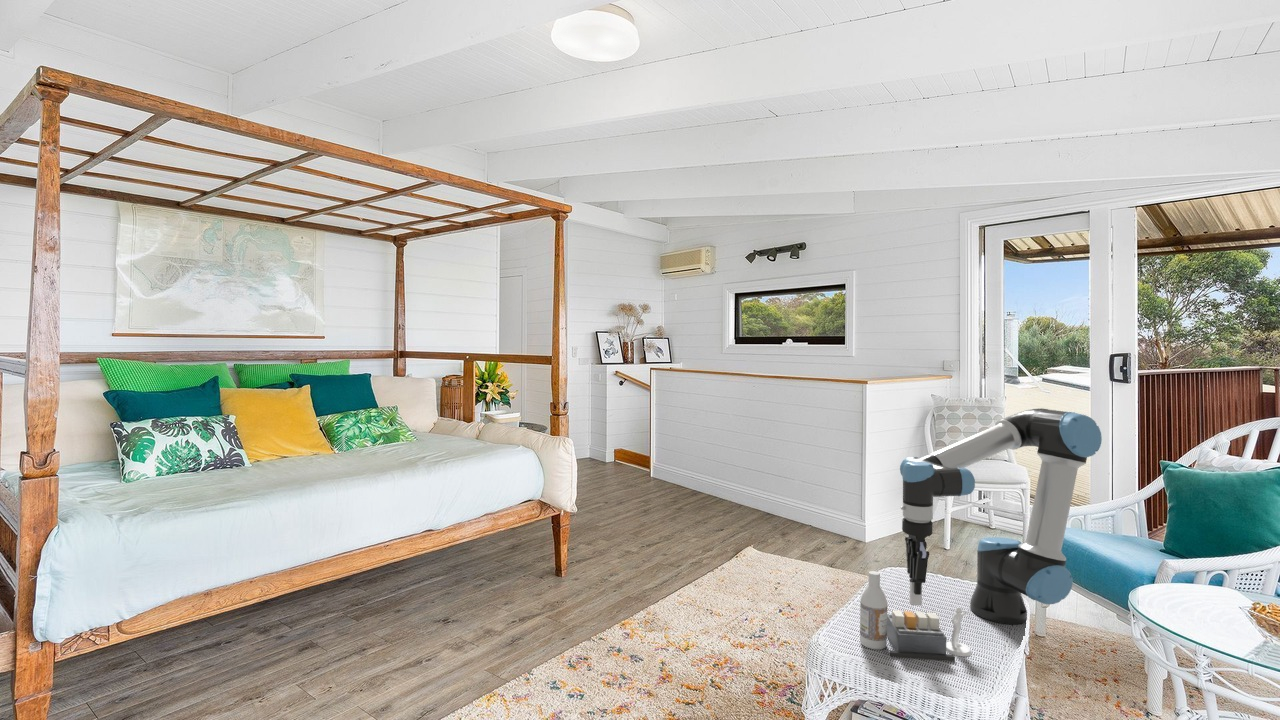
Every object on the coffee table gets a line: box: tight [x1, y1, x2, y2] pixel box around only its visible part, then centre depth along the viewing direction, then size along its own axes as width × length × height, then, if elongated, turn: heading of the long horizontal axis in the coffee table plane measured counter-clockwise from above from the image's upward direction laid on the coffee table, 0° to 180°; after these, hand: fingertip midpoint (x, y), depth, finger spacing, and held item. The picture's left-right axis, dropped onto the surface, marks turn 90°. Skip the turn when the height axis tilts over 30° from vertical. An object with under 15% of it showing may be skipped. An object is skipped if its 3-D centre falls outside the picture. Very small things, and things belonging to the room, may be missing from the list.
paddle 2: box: [903, 610, 916, 628], centre depth 167 cm, size 2×4×3 cm, turn 172°
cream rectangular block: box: [925, 612, 940, 630], centre depth 166 cm, size 2×4×3 cm, turn 172°
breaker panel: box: [887, 613, 947, 655], centre depth 167 cm, size 12×12×7 cm
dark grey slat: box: [889, 649, 956, 662], centre depth 161 cm, size 16×1×1 cm, turn 82°
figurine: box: [946, 606, 973, 657], centre depth 165 cm, size 7×7×12 cm
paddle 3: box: [914, 611, 928, 629], centre depth 167 cm, size 2×4×3 cm, turn 172°
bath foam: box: [859, 570, 888, 650], centre depth 168 cm, size 7×7×20 cm
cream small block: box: [891, 610, 904, 627], centre depth 167 cm, size 2×4×3 cm, turn 172°
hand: (915, 604), depth 167 cm, fingers closed
